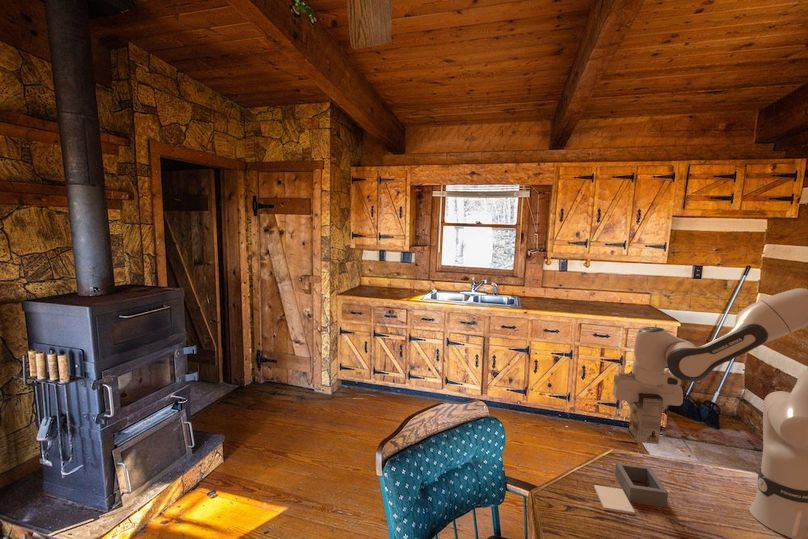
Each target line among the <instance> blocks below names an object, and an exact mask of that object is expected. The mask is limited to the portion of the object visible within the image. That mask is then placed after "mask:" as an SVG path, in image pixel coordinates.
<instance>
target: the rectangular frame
mask: <svg viewBox="0 0 808 539" xmlns="http://www.w3.org/2000/svg"><path fill="white" fill-rule="evenodd" d="M614 476H615V478H616V480H617V481H618V484H619V485H620V487H621V489H623V491H624V493H625V495H626V497H627V499H628V500H629V502H630V503H636V504H642V505H650V506H655V507H660V508H667V507H668V496H669V493H668V491H667V490H666V488H665V486H664V485H663V483H661V481H660V480H659V478H658V477H657V475H656V474H655V473H654V471H653V470H652V468H651V467H650V466H648V465H647V466H646V465H638V464H631V463H623V462H617V461H616V462H615V472H614ZM633 481H635V482H643V481H644V482H643V483H646V484H647V486H642V485H641V486H640V485H636V484H634V483H633Z"/></svg>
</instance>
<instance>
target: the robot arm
mask: <svg viewBox="0 0 808 539" xmlns="http://www.w3.org/2000/svg"><path fill="white" fill-rule="evenodd" d="M804 328H805V329H806V328H808V289H807V288H803V287H802V288H800V287H799V288H798V287H797V288H793V289H789V290H786V291H782V292H779V293H776V294H773V295H769V296H768V297H766V298H765V297H764V298H763V299H760V300H758V301H756V302H753V303H752V304H750V305H748V306H746V307H745V308H743V309H742V310H740V311H739V312H737V315H736V317H735V323H734V325H733V327H732V328H731V330H730V331H729V332H728V333H726V334H723V335H722V336H720V337H718V338H716V339H713V340H712V341H709V342H707V343H705V344H703V345H700V346H696V345H695V344H694V343H692V342H691V341H688V340H686V339H683V338H680V337H678V336H675V335H673V334H671V333H670V332H668V331H666V329H664V328H662V327H659V326H647V327H643V328H641V329H639V330H638V331H637V333H636V336H635V340H634V346H633V347H634V348H633V352H634V360H633V362H632V373H631V372H630V373H629V372H627V373H626V372H618V373H616V374H614V375H613V388H612V395H613V397H614V398H615V399H616V400H617V401H623V402H625V403H627V405H628V407H629V408H628V409H629V411H628V412H629V413H631V414H636V409H635V407H632V405H631V404H633V402H638V396H639V393H649V394H658V395H660V396H661V397H662V398H663V404H662V413H664V411H665V410H666V409H667V406H675V407H676V406H678V407H680V406H682V404H683V401H684V393H683V388H682V387H681V384H682V381H683V382H690V383H693V382H699V381H702V380H703V379H705V378H706V377H708V375H709V374H710V373H711V372H712V371H713V370H715V369H716V368H717V367H718V366H721V365H722V364H724V363H726V362H729V361H732V360H733V359H736V358H737V357H739V356H742V355H744V354H746V353H748V352H750V351H752V350H754V349H756V348H758V347H759V346H763V345H764V344H766V343H770V342H771V341H774V340H777V339H779V338H782V337H784V336H786V335H790V334H792V333H794V332H796V331H799V330H801V329H804ZM666 368H668V370H669V371H666V370H665V369H666ZM762 409H763V410H762V412H763V413H762V437H763V438H762V440H763V444H762V448H763V449H762V457H761V467H760V468H759V470H758V475H757V476H758V477H757V490H756V494H755V497H754V499H753V501H752V503H751V505H750V506H749V512H750V514H751V515H752V517H754V519H755V520H757V521H758V522H759V523H760V524H762V525H763V526H766V527H767V528H769V529H770V530H772V531H774V532H776V533H779V534H781V535H784V536H786V537H788V538H790V539H808V367H806V369H805V370H804V371H803V372H802V373H801V374H800V375H799V376H798V378H797V380H796V383H795V384H794V386H793V388H792V389H791V391H790V392H789V391H783V390H778V391H773V392H770V393H768V394H767V395H766V396H765V398H764V400H763V408H762ZM662 417H663V414H662V415H661V418H662Z"/></svg>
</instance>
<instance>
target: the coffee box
mask: <svg viewBox="0 0 808 539" xmlns="http://www.w3.org/2000/svg"><path fill="white" fill-rule="evenodd" d="M662 404H663V398H662V397H661V396H660V395H658V394H649V393H639V396H638V402H633V404H631V405H632V407H635V409H636V414H631V413H630V412H629V413H630V414H629V416H630V417H629V430H630V432H631V433H632V434H633V435H634V437H635V438H636V440H637V442H638V443H644V444H653V445H659V444H660V435H661V423H662V417H661V415H662V416H663V412H662Z"/></svg>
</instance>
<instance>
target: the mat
mask: <svg viewBox="0 0 808 539" xmlns="http://www.w3.org/2000/svg"><path fill="white" fill-rule="evenodd" d="M593 485H594V486H593V489H594V491H595V492H596V496H597V498H598V500H599V502H600V505H601V507H602V509H603V510H604V511H610V512H618V513H621V514H629V515H634V516H635V514H636V512H635V510H634V508H633V506H632V504H631V502H629V500H628V498H627V496H626V495H625V493H624V491H623V489H622V488H618V487H617V488H616V487H612V486H611V487H610V486H603V485H597V484H593Z"/></svg>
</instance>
